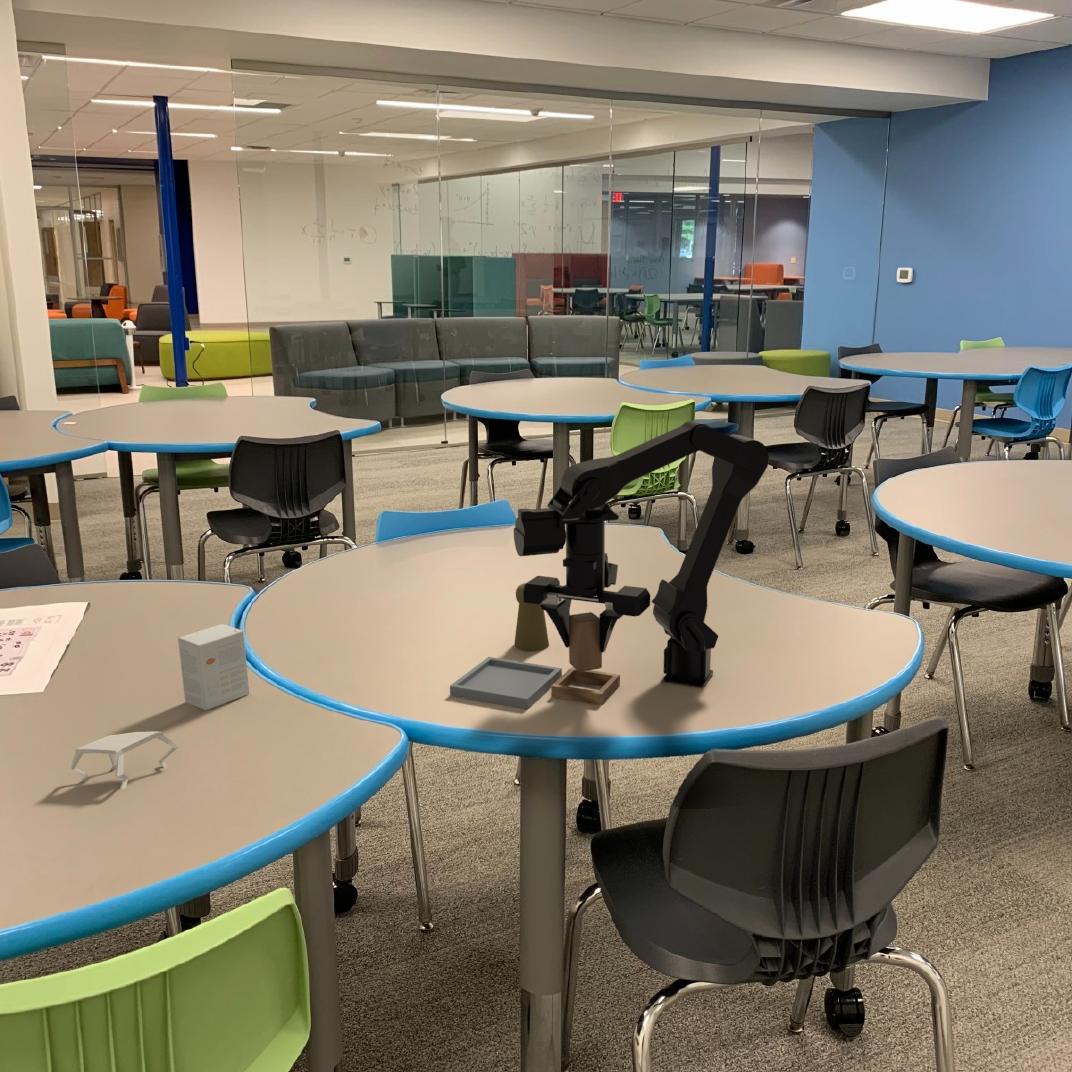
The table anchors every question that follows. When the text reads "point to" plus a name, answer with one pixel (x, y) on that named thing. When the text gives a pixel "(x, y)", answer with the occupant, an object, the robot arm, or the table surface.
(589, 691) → the walnut collar
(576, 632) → the wooden block
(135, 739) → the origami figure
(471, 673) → the slate tray
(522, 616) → the olive pawn piece
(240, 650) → the small box
